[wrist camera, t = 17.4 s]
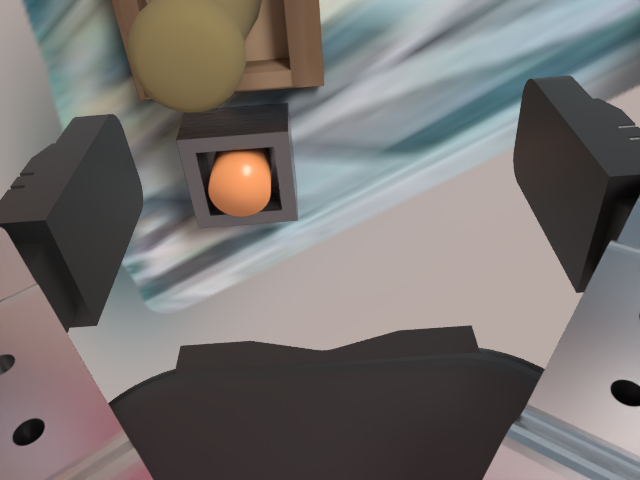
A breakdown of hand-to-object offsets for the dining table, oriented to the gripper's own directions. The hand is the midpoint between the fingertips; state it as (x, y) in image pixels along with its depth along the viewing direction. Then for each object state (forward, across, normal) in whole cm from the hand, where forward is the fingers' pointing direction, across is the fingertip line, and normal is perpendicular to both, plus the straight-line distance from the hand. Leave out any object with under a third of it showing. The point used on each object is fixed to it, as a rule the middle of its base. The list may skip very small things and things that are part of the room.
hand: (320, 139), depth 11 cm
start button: (+24, +6, +14) cm, 28 cm away
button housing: (+25, +6, +14) cm, 30 cm away
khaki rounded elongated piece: (+24, +6, +3) cm, 25 cm away
